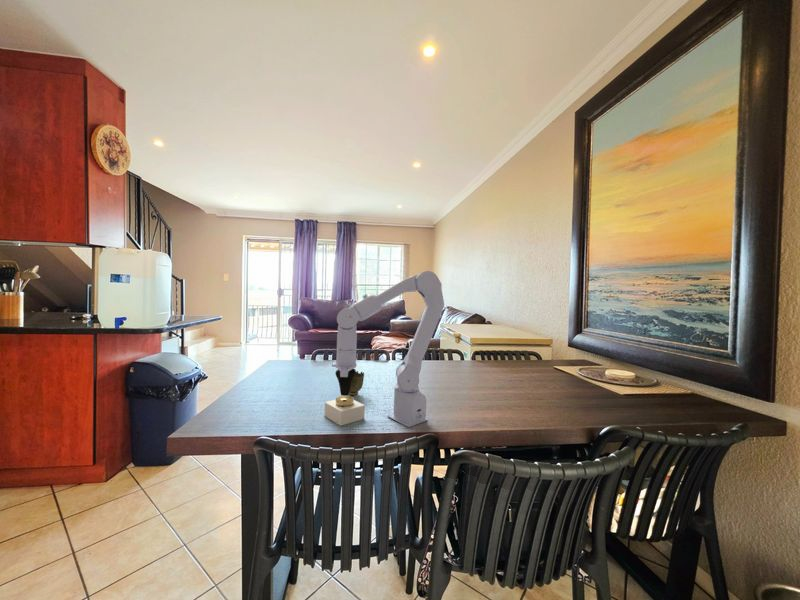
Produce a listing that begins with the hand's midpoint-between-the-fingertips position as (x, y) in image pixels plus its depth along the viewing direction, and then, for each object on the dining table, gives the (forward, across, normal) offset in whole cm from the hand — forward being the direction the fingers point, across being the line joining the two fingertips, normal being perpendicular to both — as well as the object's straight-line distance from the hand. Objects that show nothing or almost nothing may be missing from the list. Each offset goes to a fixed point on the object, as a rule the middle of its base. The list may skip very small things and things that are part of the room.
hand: (344, 394), depth 92 cm
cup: (+7, -19, +2) cm, 21 cm away
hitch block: (+7, 0, 0) cm, 7 cm away
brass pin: (+6, 0, 0) cm, 6 cm away
